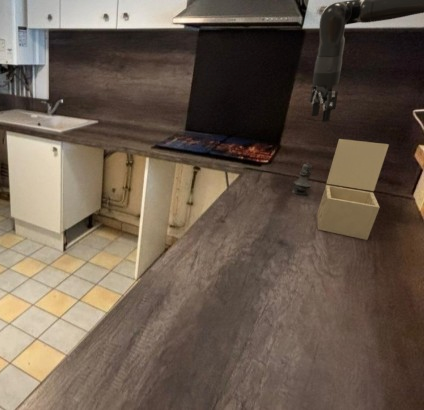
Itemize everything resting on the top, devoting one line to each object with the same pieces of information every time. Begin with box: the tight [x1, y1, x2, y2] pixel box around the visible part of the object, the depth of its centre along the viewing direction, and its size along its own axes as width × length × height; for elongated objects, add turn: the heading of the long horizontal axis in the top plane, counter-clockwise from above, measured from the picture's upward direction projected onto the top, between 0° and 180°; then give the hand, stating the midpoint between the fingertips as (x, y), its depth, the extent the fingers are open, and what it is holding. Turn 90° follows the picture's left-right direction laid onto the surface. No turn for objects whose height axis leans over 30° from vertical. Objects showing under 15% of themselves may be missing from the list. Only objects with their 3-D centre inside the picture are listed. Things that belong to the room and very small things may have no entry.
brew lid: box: [326, 138, 390, 192], centre depth 107 cm, size 14×12×4 cm
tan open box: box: [316, 184, 381, 241], centre depth 104 cm, size 13×12×10 cm
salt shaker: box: [291, 160, 313, 196], centre depth 129 cm, size 6×6×12 cm
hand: (319, 118), depth 126 cm, fingers open, 8 cm apart
